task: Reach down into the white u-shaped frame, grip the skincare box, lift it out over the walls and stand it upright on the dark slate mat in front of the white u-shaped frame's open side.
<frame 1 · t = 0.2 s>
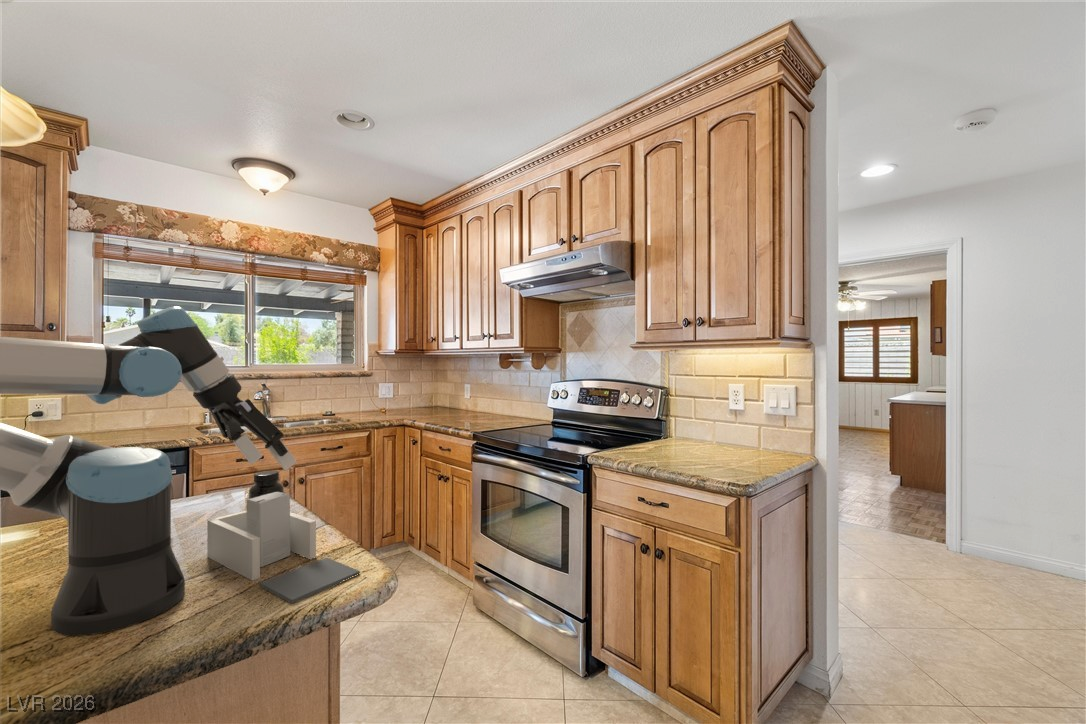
hand: (273, 463, 103), 15 cm above the counter, tool tilted 35°, fingers open, 13 cm apart
skincare box: (268, 561, 89), resting in white u-shaped frame
supplement bottle: (266, 526, 108), on the counter
mat: (311, 580, 82), on the counter
white u-shaped frame: (268, 560, 89), on the counter
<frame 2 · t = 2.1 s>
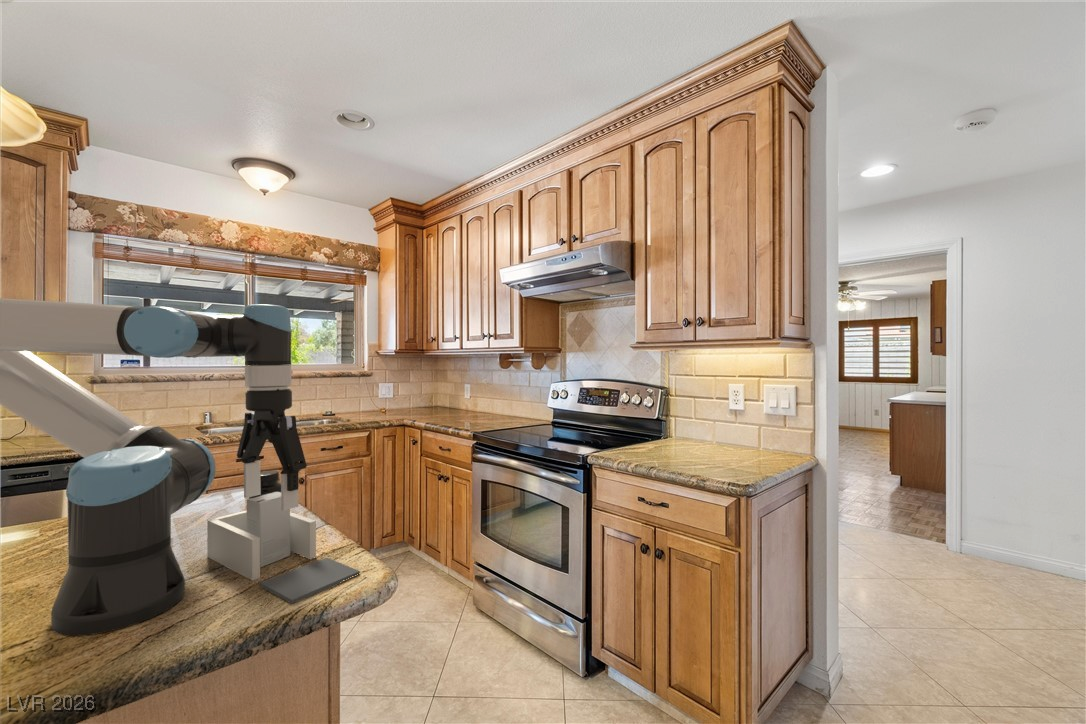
hand: (270, 502, 89), 11 cm above the counter, tool pointing down, fingers open, 13 cm apart
nothing on the counter moved.
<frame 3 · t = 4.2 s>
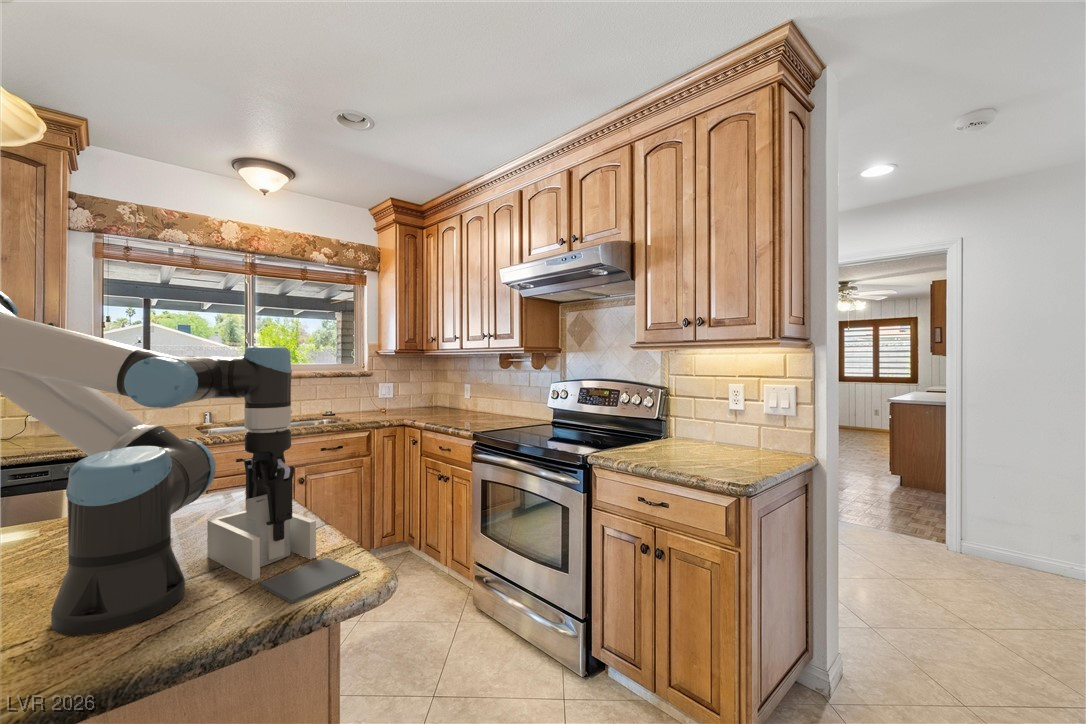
hand: (268, 553, 90), 1 cm above the counter, tool pointing down, fingers closed on skincare box, 4 cm apart
skincare box: (268, 561, 89), resting in white u-shaped frame, touching gripper
everything else where it was.
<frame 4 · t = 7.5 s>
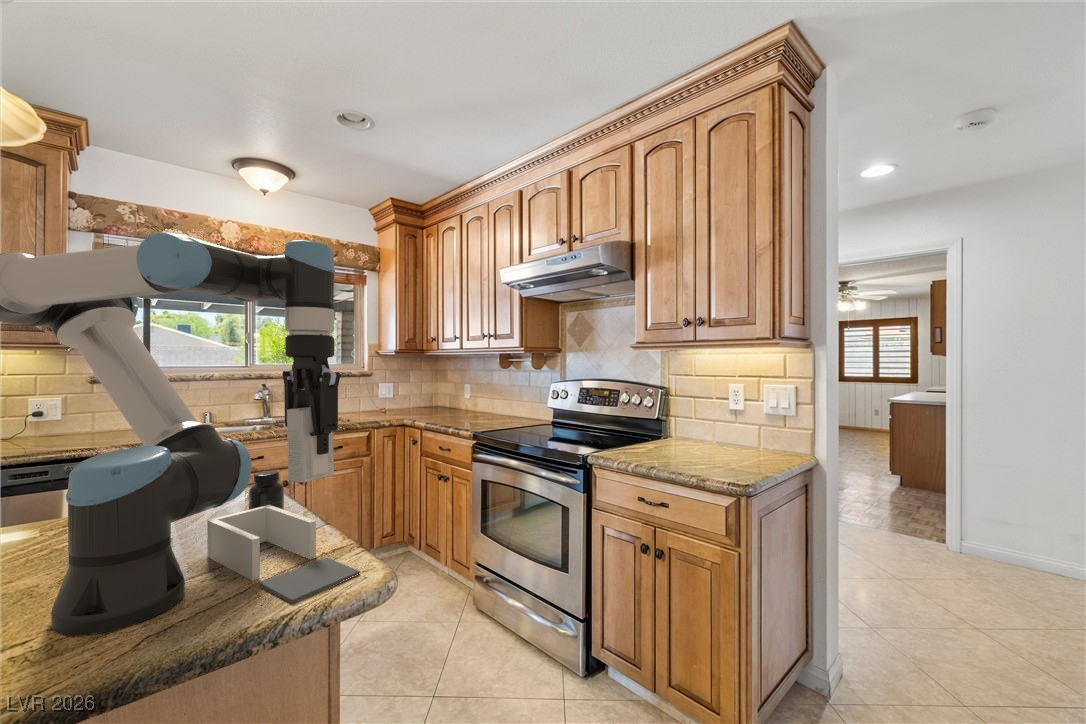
hand: (310, 470, 82), 19 cm above the counter, tool pointing down, fingers closed on skincare box, 4 cm apart
skincare box: (311, 479, 82), point 17 cm above the counter, touching gripper
everything else where it was.
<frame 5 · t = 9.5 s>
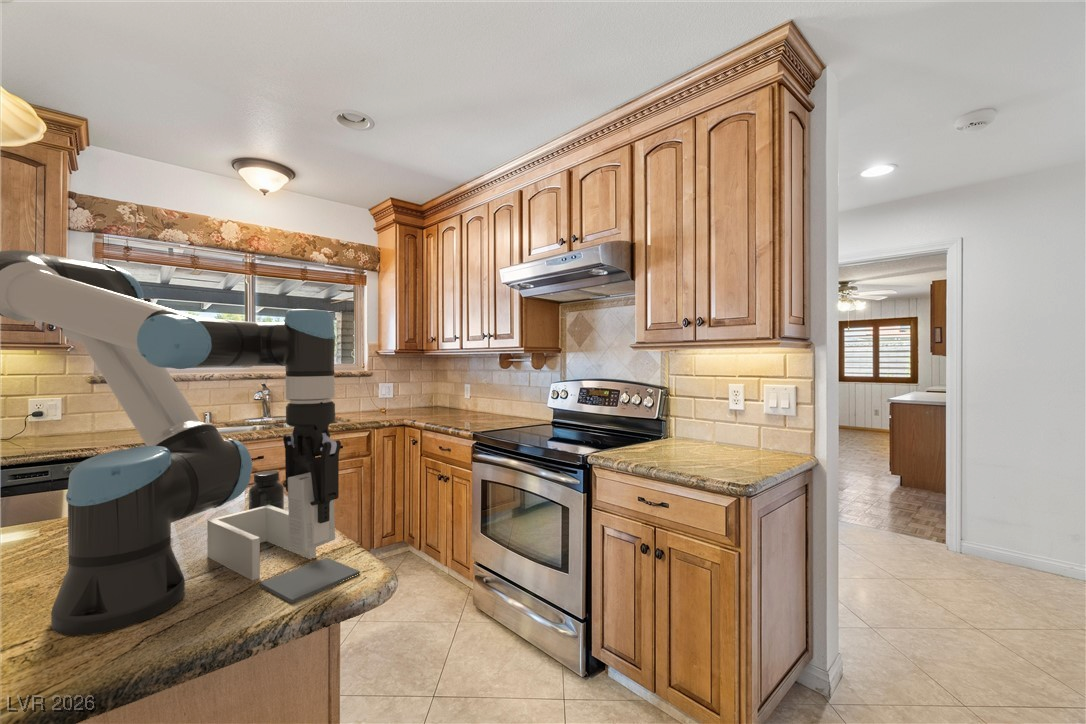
hand: (311, 537, 82), 7 cm above the counter, tool pointing down, fingers closed on skincare box, 4 cm apart
skincare box: (312, 546, 82), point 6 cm above the counter, touching gripper
everything else where it was.
when the fingers open (3 cm above the counter, at t = 11.1 s): skincare box drops 1 cm, resting on mat.
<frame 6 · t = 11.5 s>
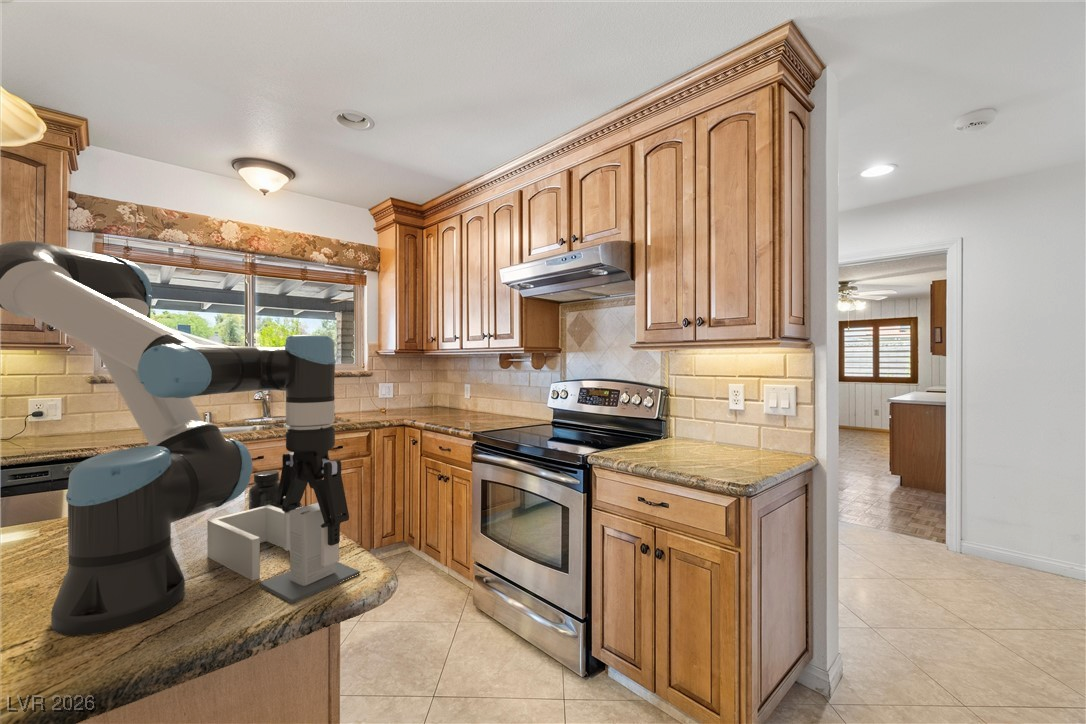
hand: (310, 555, 82), 4 cm above the counter, tool pointing down, fingers open, 10 cm apart
skincare box: (313, 578, 81), resting on mat
everything else where it was.
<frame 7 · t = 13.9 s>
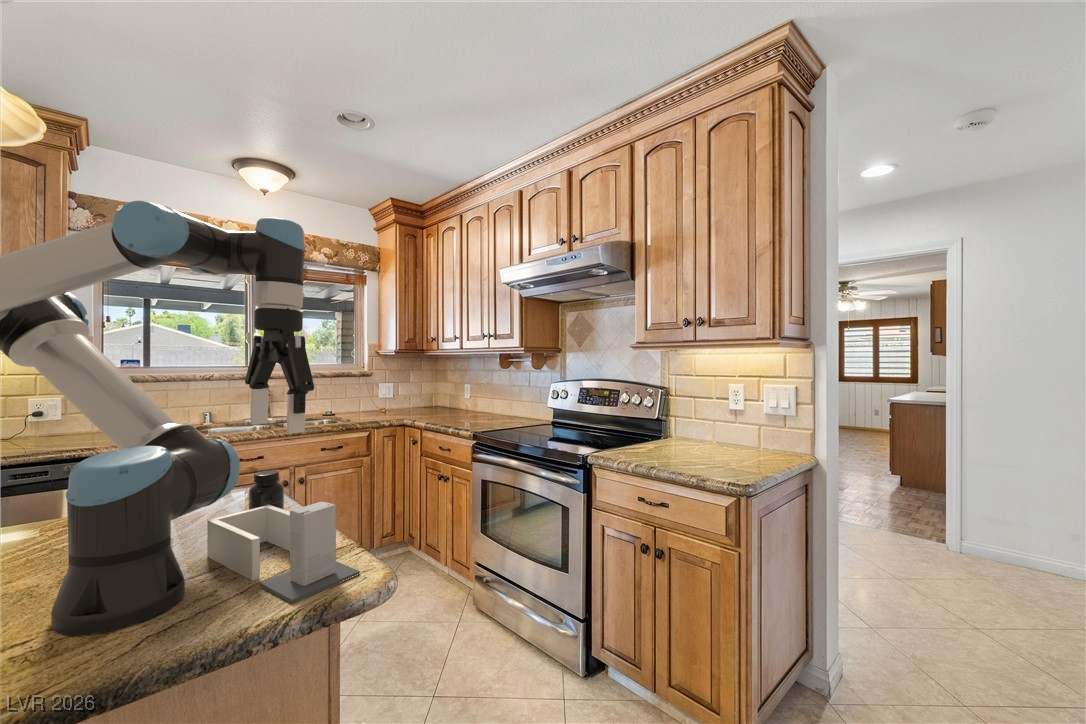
hand: (276, 428, 85), 25 cm above the counter, tool pointing down, fingers open, 13 cm apart
nothing on the counter moved.
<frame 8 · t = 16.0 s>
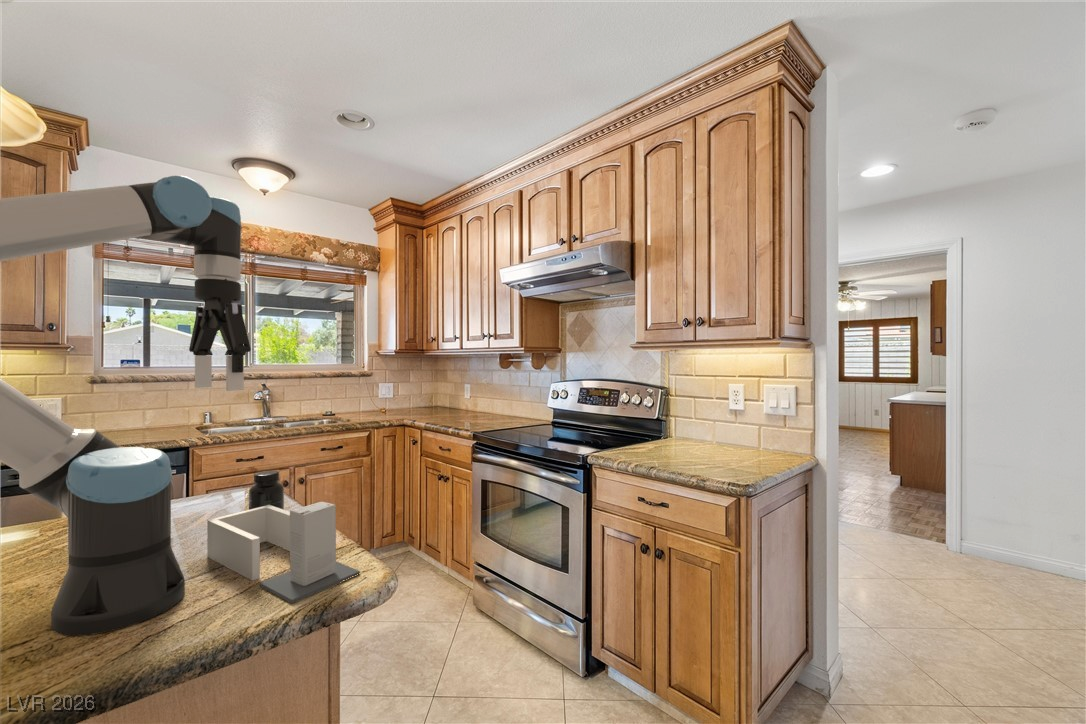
hand: (218, 389, 94), 32 cm above the counter, tool pointing down, fingers open, 13 cm apart
nothing on the counter moved.
at the end: skincare box inside the target area on the mat (0.7 cm from its centre), point 0.4 cm above the mat's base; skincare box tilted 0°; the gripper is holding nothing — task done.
